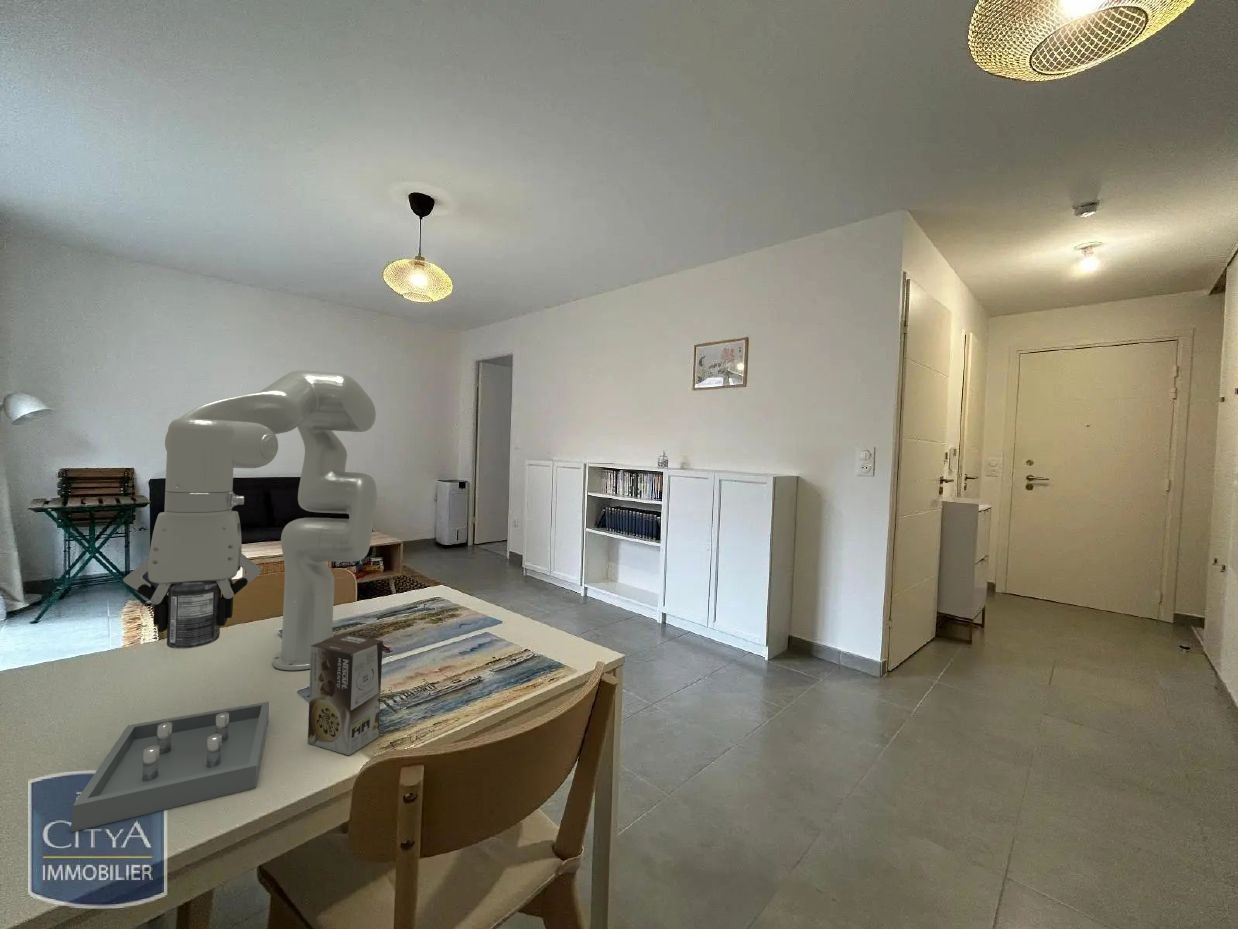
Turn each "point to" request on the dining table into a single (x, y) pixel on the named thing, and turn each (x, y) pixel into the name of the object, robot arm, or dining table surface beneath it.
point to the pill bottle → (193, 614)
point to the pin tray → (175, 764)
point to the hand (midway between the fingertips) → (194, 624)
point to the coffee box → (344, 692)
